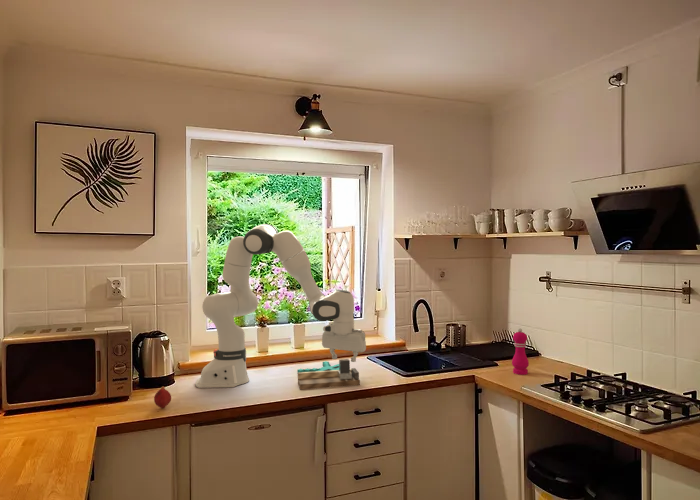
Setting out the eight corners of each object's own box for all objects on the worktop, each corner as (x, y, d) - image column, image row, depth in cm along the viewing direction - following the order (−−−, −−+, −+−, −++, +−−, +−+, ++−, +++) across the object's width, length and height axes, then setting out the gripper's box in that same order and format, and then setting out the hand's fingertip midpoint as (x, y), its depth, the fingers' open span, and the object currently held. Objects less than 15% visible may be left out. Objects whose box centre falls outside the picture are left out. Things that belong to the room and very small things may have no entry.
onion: (161, 412, 186) (160, 389, 186) (151, 409, 189) (150, 387, 189) (174, 407, 191) (174, 385, 191) (164, 405, 194) (163, 383, 194)
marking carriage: (340, 379, 217) (339, 362, 217) (337, 376, 223) (337, 358, 223) (353, 378, 218) (352, 361, 218) (350, 375, 224) (350, 358, 224)
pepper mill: (511, 374, 230) (510, 329, 229) (512, 370, 236) (512, 326, 236) (528, 375, 227) (528, 330, 227) (529, 371, 234) (529, 327, 233)
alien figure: (297, 374, 237) (331, 381, 225) (297, 369, 237) (331, 375, 225) (325, 365, 253) (358, 371, 241) (325, 361, 253) (358, 366, 241)
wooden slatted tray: (300, 389, 212) (299, 377, 212) (297, 382, 222) (297, 371, 222) (360, 385, 217) (359, 373, 216) (355, 378, 226) (354, 367, 226)
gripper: (368, 328, 218) (368, 361, 218) (328, 324, 228) (328, 356, 229) (361, 331, 212) (361, 364, 213) (319, 326, 223) (320, 358, 223)
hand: (343, 360), depth 221 cm, fingers open, 8 cm apart
